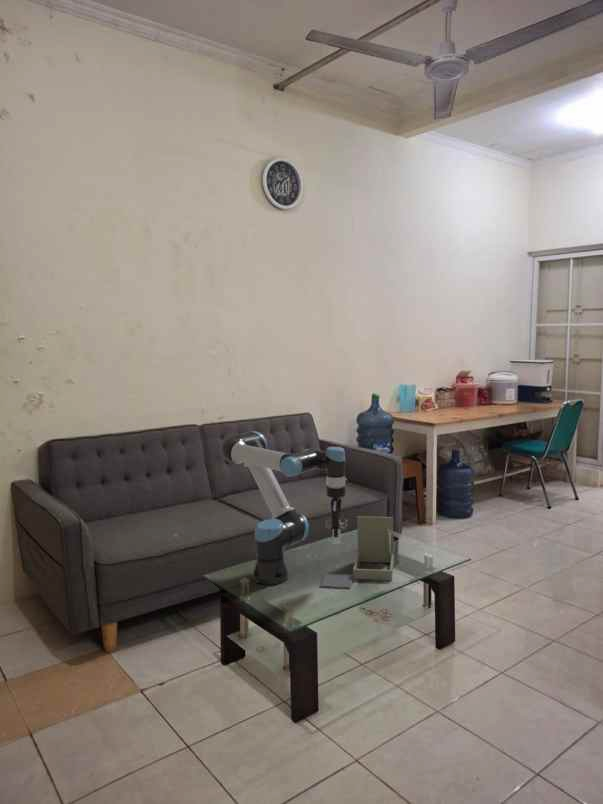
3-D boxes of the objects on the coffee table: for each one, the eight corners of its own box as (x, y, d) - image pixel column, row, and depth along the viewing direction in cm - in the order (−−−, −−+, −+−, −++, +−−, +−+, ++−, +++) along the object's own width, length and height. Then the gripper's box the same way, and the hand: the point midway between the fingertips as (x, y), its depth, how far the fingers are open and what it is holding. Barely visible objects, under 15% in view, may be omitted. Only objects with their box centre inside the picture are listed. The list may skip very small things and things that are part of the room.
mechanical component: (348, 545, 235) (348, 520, 234) (323, 543, 237) (323, 519, 236) (349, 542, 238) (349, 518, 237) (324, 541, 240) (324, 517, 239)
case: (353, 578, 241) (352, 531, 239) (358, 560, 261) (357, 516, 259) (391, 580, 238) (391, 532, 236) (393, 561, 258) (393, 517, 256)
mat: (320, 587, 234) (320, 585, 234) (324, 575, 246) (324, 573, 246) (350, 588, 232) (350, 587, 231) (353, 576, 243) (353, 575, 243)
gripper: (343, 491, 226) (344, 550, 229) (347, 481, 242) (347, 536, 245) (324, 491, 228) (325, 549, 230) (328, 480, 243) (329, 535, 246)
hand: (336, 542), depth 238 cm, fingers closed on mechanical component, 3 cm apart
